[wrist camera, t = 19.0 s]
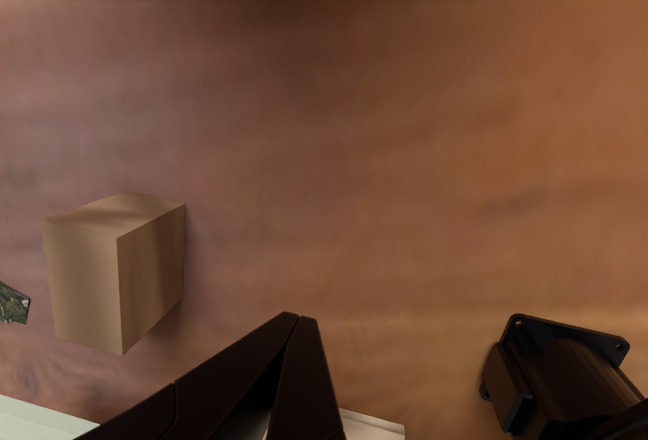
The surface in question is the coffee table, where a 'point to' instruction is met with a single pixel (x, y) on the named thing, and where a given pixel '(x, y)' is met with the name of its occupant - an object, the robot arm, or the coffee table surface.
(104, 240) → the wooden block
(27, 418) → the lid
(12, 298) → the eiffel tower figurine
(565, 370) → the robot arm
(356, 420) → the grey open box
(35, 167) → the coffee table surface
